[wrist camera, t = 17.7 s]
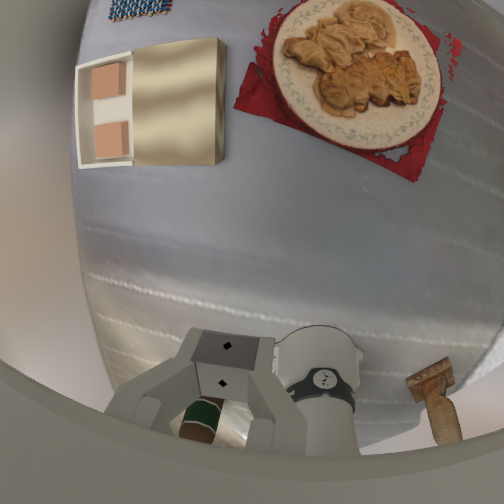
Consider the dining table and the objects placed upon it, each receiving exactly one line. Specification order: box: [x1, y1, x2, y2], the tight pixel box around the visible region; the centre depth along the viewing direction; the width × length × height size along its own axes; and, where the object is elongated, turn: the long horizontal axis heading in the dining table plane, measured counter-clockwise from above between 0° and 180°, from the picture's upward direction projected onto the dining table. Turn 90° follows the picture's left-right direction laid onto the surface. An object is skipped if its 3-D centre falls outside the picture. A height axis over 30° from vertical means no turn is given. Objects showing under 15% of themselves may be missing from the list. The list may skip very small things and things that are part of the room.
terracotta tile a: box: [94, 121, 129, 158], centre depth 36 cm, size 5×5×2 cm
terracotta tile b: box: [91, 62, 126, 100], centre depth 32 cm, size 5×5×2 cm
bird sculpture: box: [406, 358, 463, 445], centre depth 39 cm, size 11×12×32 cm
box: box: [75, 51, 135, 169], centre depth 34 cm, size 16×10×4 cm, turn 178°
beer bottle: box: [179, 395, 224, 444], centre depth 52 cm, size 8×8×24 cm
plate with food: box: [233, 0, 462, 183], centre depth 28 cm, size 25×26×4 cm
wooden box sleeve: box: [132, 38, 227, 166], centre depth 33 cm, size 16×11×5 cm
